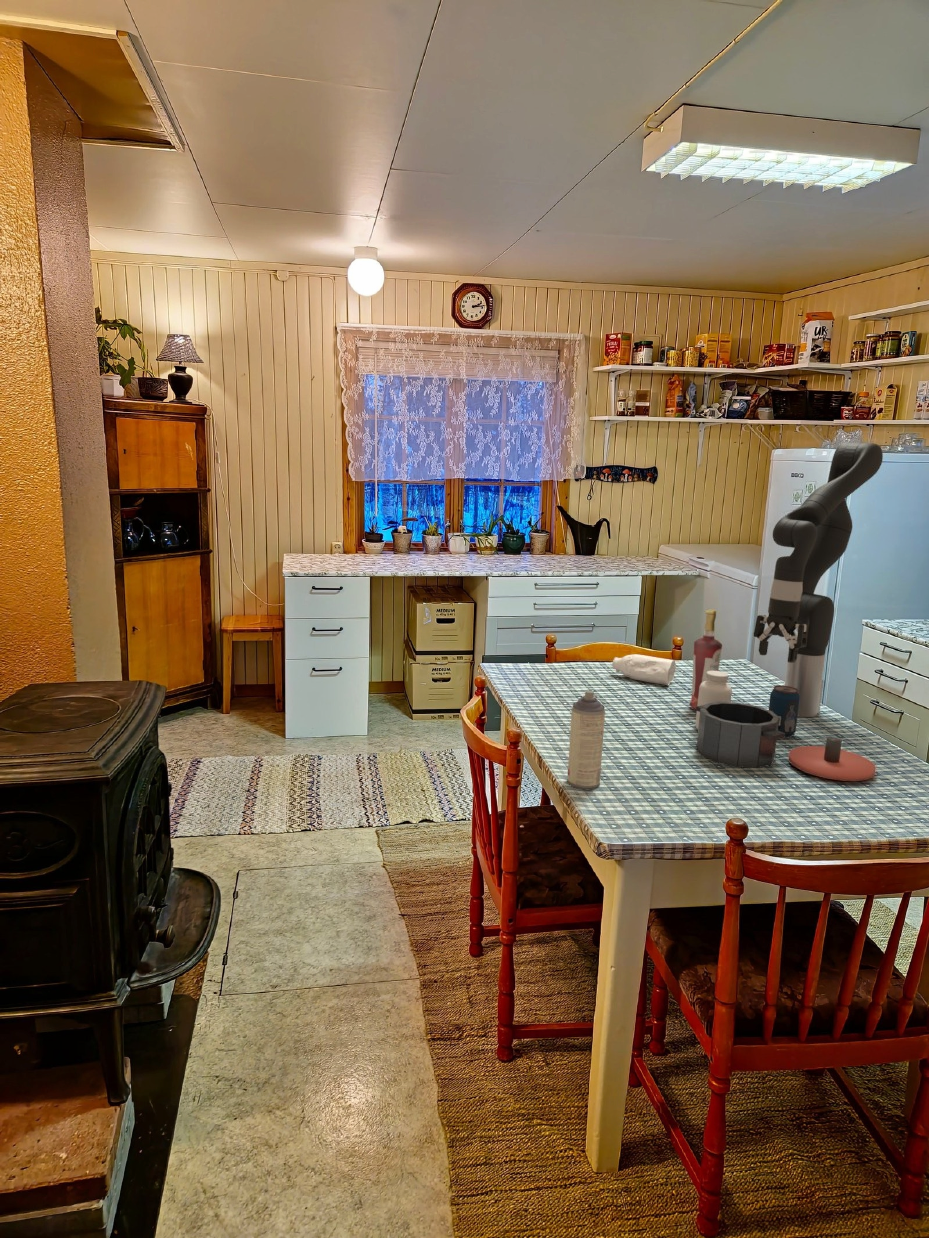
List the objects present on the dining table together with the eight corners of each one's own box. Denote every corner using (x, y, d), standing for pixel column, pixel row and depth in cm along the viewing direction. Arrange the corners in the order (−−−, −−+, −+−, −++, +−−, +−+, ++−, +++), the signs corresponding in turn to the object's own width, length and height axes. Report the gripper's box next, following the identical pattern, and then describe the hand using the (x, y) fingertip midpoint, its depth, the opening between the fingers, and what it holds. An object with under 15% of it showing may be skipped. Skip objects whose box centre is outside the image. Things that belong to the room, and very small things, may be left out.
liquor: (705, 715, 218) (715, 614, 212) (682, 709, 223) (691, 609, 217) (720, 711, 222) (730, 611, 217) (697, 704, 228) (706, 606, 222)
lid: (821, 750, 195) (825, 721, 194) (891, 776, 180) (896, 746, 178) (770, 762, 186) (774, 732, 185) (840, 791, 171) (844, 758, 169)
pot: (723, 733, 204) (727, 695, 202) (800, 764, 185) (805, 723, 183) (673, 743, 196) (677, 703, 194) (748, 777, 176) (753, 733, 174)
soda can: (773, 727, 210) (778, 683, 208) (799, 734, 205) (805, 689, 203) (761, 733, 205) (766, 687, 203) (787, 740, 200) (793, 694, 198)
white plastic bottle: (618, 672, 259) (619, 648, 257) (675, 682, 249) (677, 657, 248) (608, 678, 252) (610, 653, 251) (667, 688, 243) (669, 662, 241)
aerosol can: (595, 776, 174) (601, 687, 170) (603, 789, 167) (610, 696, 163) (563, 776, 173) (569, 686, 169) (571, 789, 166) (577, 696, 162)
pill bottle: (729, 736, 202) (735, 678, 199) (696, 733, 204) (701, 675, 201) (725, 726, 210) (731, 670, 207) (693, 723, 211) (699, 667, 208)
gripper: (819, 601, 205) (809, 663, 208) (771, 592, 216) (762, 651, 219) (801, 602, 201) (791, 666, 204) (753, 593, 212) (744, 653, 215)
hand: (776, 658), depth 211 cm, fingers open, 8 cm apart
